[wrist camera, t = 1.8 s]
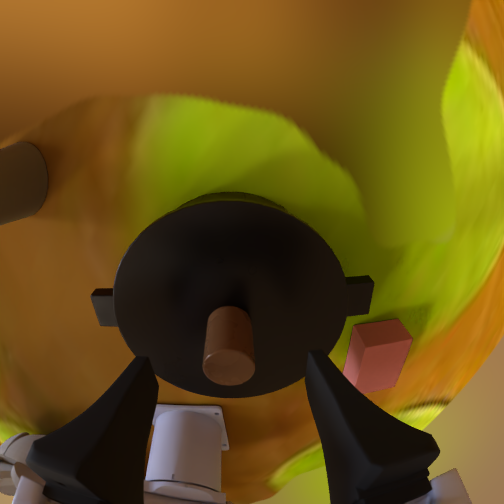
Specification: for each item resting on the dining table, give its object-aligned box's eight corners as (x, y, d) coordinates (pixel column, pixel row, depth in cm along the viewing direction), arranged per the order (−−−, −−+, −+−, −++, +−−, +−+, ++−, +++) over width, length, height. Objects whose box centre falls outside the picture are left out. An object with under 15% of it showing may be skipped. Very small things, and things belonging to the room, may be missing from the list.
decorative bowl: (173, 442, 29) (162, 548, 15) (161, 499, 39) (155, 557, 26) (-19, 363, 24) (-64, 432, 10) (29, 451, 35) (11, 501, 21)
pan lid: (328, 377, 20) (345, 427, 15) (148, 385, 19) (134, 435, 15) (351, 192, 14) (396, 218, 10) (98, 206, 14) (51, 237, 9)
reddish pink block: (383, 366, 25) (394, 386, 22) (342, 373, 25) (351, 396, 22) (398, 318, 23) (413, 338, 20) (353, 324, 23) (365, 347, 20)
